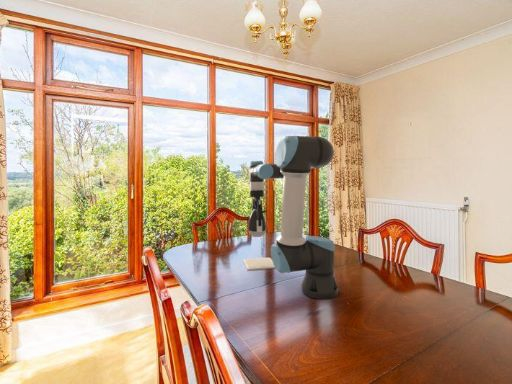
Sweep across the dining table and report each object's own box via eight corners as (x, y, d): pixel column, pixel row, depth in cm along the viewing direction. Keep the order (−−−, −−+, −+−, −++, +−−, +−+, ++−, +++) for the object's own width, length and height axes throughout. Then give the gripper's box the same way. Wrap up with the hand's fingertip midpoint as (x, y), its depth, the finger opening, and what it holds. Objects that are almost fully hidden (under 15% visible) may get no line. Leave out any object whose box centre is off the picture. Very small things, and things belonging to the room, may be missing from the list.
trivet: (276, 267, 150) (276, 266, 150) (247, 270, 147) (247, 268, 147) (269, 258, 165) (269, 257, 165) (242, 260, 162) (242, 259, 162)
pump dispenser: (267, 238, 150) (266, 209, 149) (247, 238, 150) (247, 209, 149) (266, 234, 160) (266, 207, 159) (248, 234, 160) (247, 207, 159)
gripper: (268, 190, 143) (269, 233, 144) (259, 188, 165) (259, 226, 166) (254, 190, 141) (254, 234, 143) (246, 188, 164) (247, 226, 165)
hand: (257, 230), depth 155 cm, fingers closed on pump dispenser, 10 cm apart
